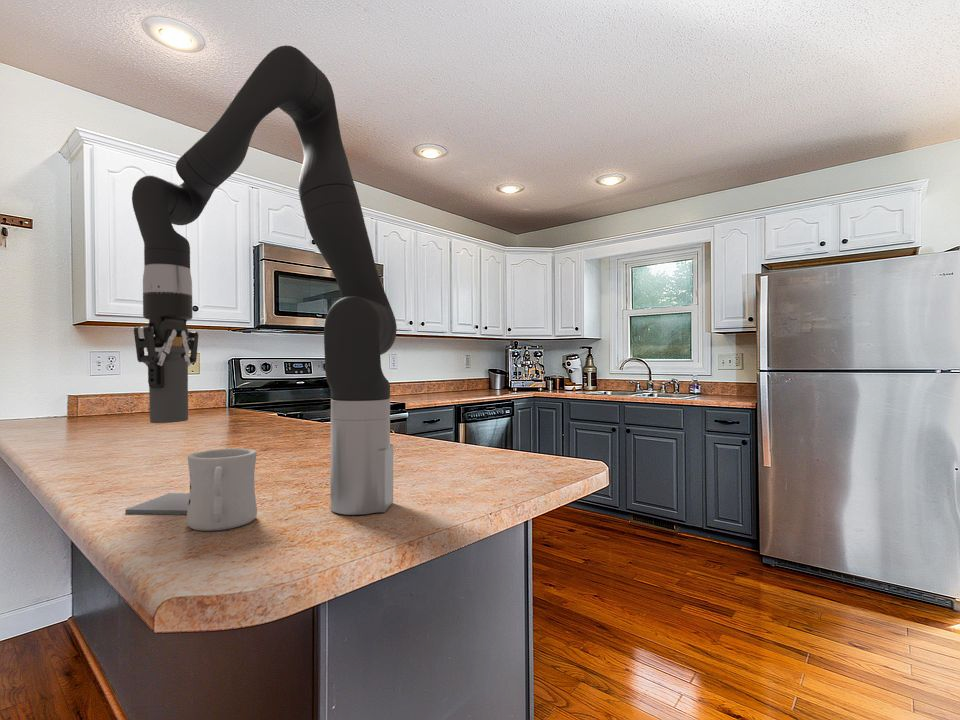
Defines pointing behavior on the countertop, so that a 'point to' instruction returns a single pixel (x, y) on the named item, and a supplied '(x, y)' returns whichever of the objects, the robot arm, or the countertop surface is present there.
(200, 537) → the countertop surface
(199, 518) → the mug
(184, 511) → the coaster
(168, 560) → the countertop surface
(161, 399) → the bottle
